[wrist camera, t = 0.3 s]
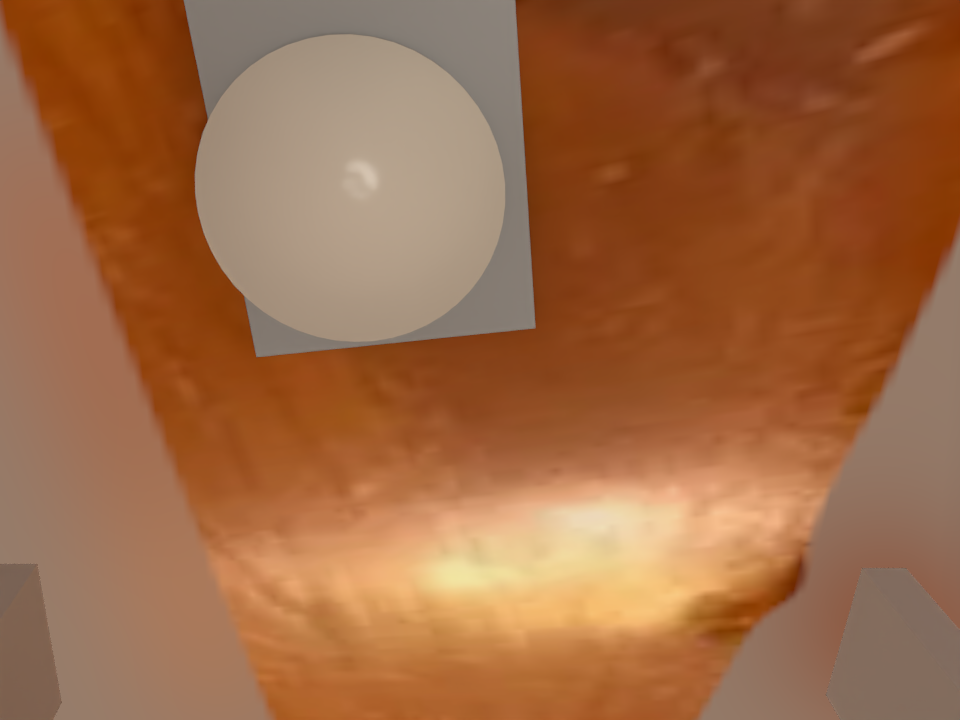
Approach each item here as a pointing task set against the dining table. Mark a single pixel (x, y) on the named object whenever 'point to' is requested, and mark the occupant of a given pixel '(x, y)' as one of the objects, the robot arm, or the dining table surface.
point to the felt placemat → (453, 46)
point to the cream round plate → (350, 187)
